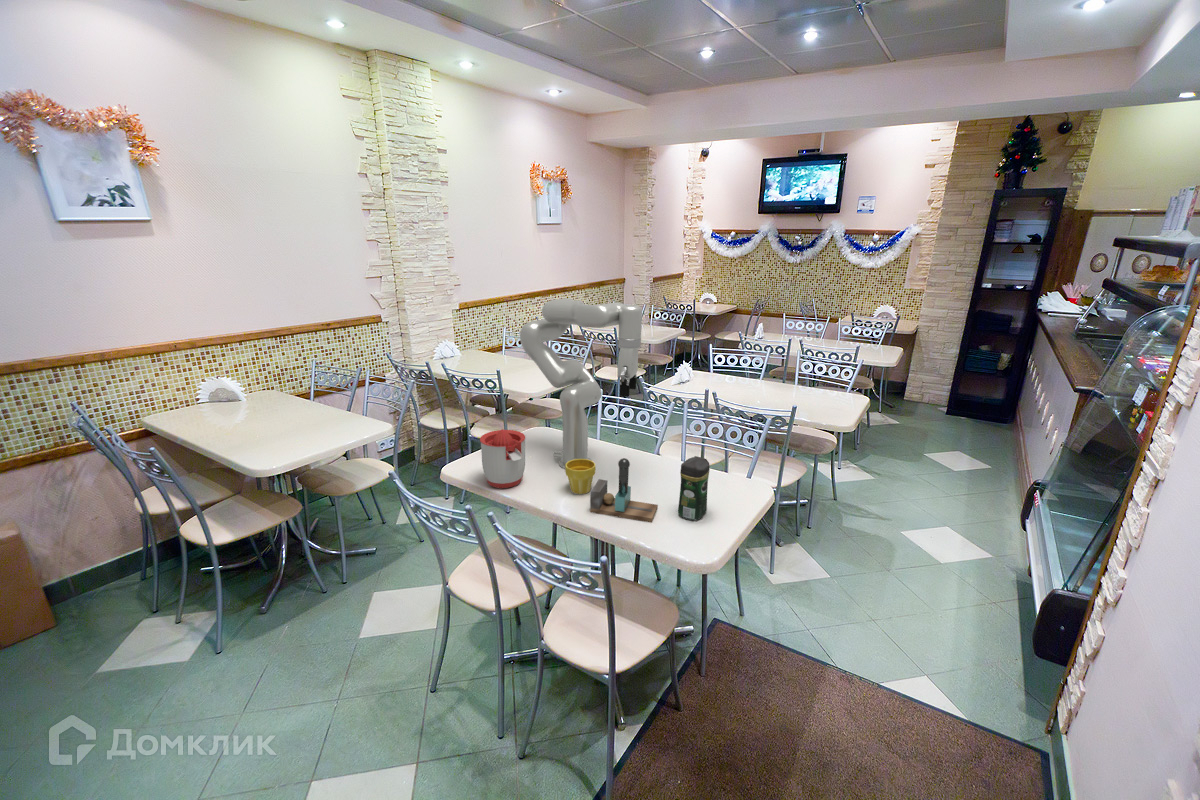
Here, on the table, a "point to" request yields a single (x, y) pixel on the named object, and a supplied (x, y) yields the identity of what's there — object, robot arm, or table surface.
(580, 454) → the robot arm
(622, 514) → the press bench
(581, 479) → the plant pot
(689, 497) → the coffee jar
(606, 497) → the walnut
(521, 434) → the citrus juicer
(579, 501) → the table surface
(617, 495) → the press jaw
